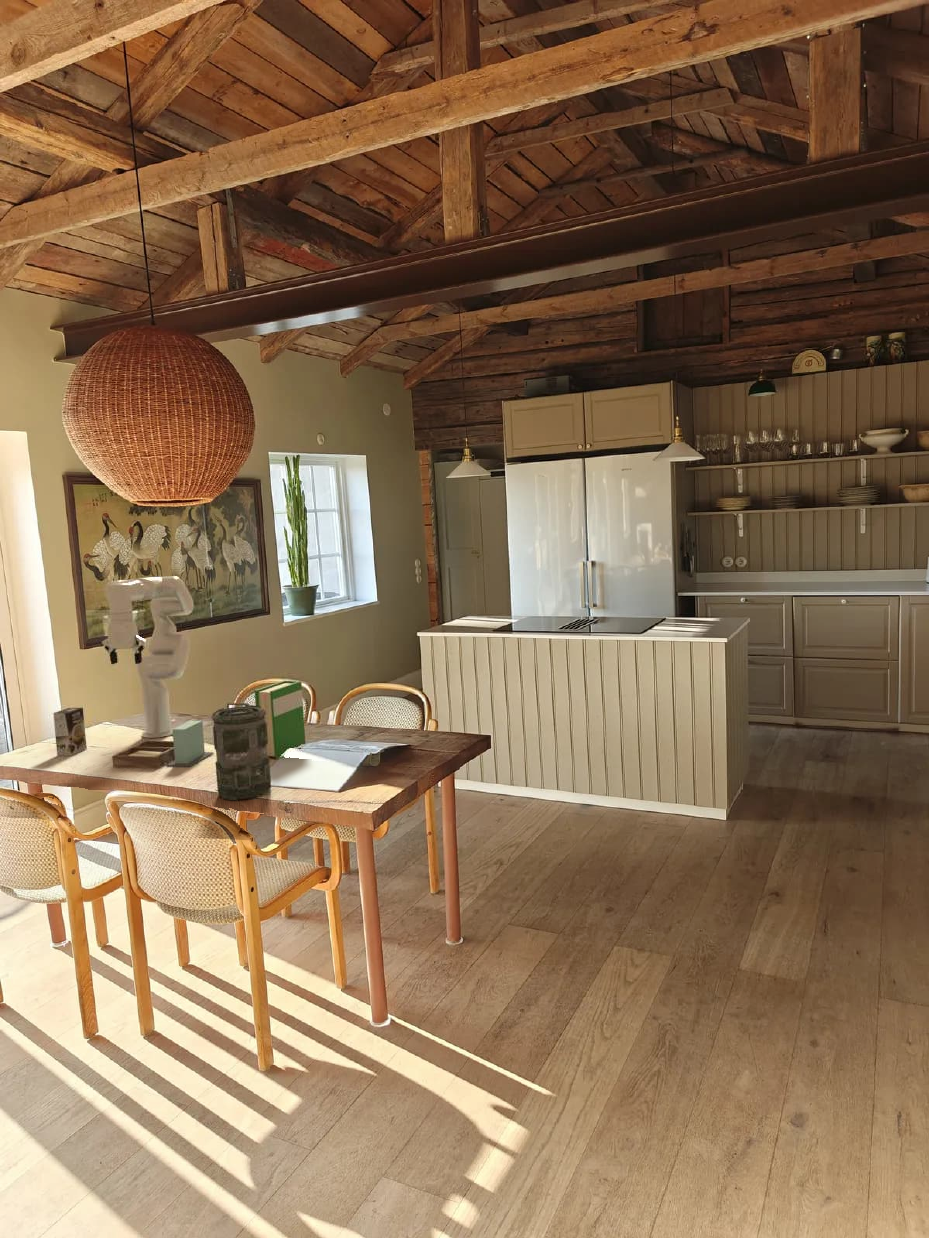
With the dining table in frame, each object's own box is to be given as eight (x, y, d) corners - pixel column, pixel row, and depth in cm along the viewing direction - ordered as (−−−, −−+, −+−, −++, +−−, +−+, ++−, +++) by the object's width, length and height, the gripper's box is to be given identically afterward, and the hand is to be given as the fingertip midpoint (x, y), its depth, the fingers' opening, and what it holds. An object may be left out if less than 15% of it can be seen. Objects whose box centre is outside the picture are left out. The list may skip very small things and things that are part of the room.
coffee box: (72, 756, 316) (67, 712, 314) (56, 755, 317) (52, 712, 315) (87, 749, 325) (83, 707, 323) (72, 748, 326) (68, 706, 324)
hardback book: (277, 759, 300) (272, 691, 297) (259, 757, 303) (254, 690, 300) (305, 745, 316) (301, 681, 313) (288, 744, 319) (284, 680, 316)
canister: (279, 785, 270) (273, 697, 267) (257, 802, 255) (250, 709, 252) (233, 784, 274) (226, 697, 270) (208, 800, 258) (201, 708, 255)
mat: (191, 753, 312) (190, 751, 312) (213, 753, 310) (213, 752, 310) (166, 766, 297) (166, 764, 297) (190, 767, 295) (190, 765, 295)
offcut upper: (140, 756, 307) (140, 750, 307) (163, 757, 304) (163, 752, 303) (128, 760, 302) (128, 755, 301) (151, 762, 298) (151, 756, 298)
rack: (146, 751, 318) (145, 740, 318) (188, 752, 314) (187, 741, 314) (113, 767, 299) (111, 756, 298) (157, 768, 295) (156, 757, 294)
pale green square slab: (175, 763, 298) (172, 729, 297) (193, 753, 310) (190, 720, 308) (187, 763, 297) (184, 729, 296) (204, 753, 309) (202, 720, 307)
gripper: (94, 619, 312) (99, 665, 314) (137, 618, 309) (142, 665, 311) (106, 616, 319) (111, 661, 322) (149, 615, 316) (153, 661, 318)
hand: (126, 663), depth 316 cm, fingers open, 9 cm apart
